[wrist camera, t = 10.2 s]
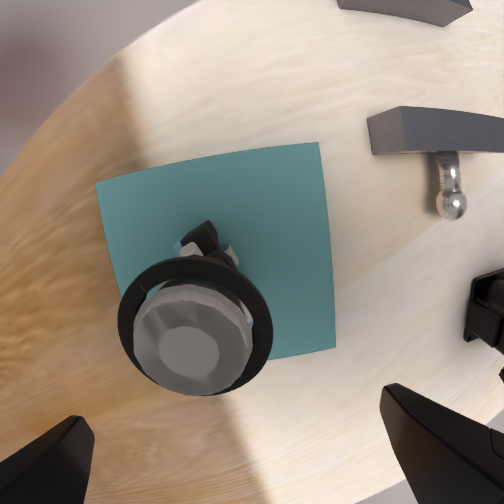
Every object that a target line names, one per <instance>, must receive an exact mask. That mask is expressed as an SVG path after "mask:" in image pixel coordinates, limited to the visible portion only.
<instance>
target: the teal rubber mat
mask: <svg viewBox="0 0 504 504" xmlns="http://www.w3.org/2000/svg"><path fill="white" fill-rule="evenodd" d="M95 185H96V191H97V197H98V203H99V208H100V213H101V218H102V223H103V228H104V233H105V237H106V241H107V246H108V250H109V254H110V258H111V262H112V266H113V270H114V274H115V277H116V281H117V284H118V288H119V291H120V295H121V298H122V297H123V295H124V293H125V291H126V290H127V288H128V287H129V285H130V284H131V283H132V282H133V281H134V280H135V279H136V277H137V276H138V275H139V274H141V273H142V272H143V271H144V270H146V269H147V268H149V267H150V266H152V265H154V264H156V263H158V262H161V261H163V260H166V259H170V258H175V257H178V256H177V255H176V253H175V252H174V250H173V245H174V244H175V243H176V241H177V240H178V239H179V238H180V237H182V236H184V235H185V234H187V233H188V232H190V231H191V230H193V229H195V228H196V227H198V226H199V225H201V224H203V223H204V222H206V221H208V220H209V221H210V222H211V223H212V225H213V226H214V228H215V229H216V231H217V234H218V243H219V246H220V248H221V250H222V251H226V250H227V249H228V244H230V245H231V247H232V248H233V250H234V252H235V253H236V255H237V257H238V259H239V265H238V266H237V267H236V268H237V271H239V272H240V273H242V274H243V275H244V276H246V277H247V278H248V279H249V280H250V281H251V282H252V283H253V284H254V285H255V286H256V287H257V289H258V290H259V291H260V293H261V294H262V296H263V298H264V299H265V301H266V303H267V306H268V308H269V311H270V314H271V318H272V324H273V334H274V335H273V344H272V349H271V352H270V355H269V357H268V359H267V360H273V359H279V358H285V357H290V356H296V355H301V354H306V353H311V352H316V351H321V350H326V349H330V348H335V347H336V335H335V307H334V287H333V271H332V257H331V245H330V234H329V223H328V214H327V204H326V196H325V187H324V179H323V172H322V164H321V157H320V150H319V144H318V142H314V143H304V144H294V145H285V146H276V147H268V148H260V149H253V150H246V151H239V152H233V153H227V154H221V155H215V156H209V157H203V158H198V159H193V160H188V161H183V162H178V163H173V164H168V165H163V166H159V167H154V168H150V169H146V170H142V171H137V172H133V173H129V174H125V175H121V176H118V177H114V178H110V179H106V180H103V181H99V182H96V183H95ZM163 283H164V282H163ZM163 283H161V284H159V285H157V286H155V287H154V288H152V289H151V290H150V291H149V292H148V294H147V297H146V300H147V299H148V298H150V297H151V296H153V295H154V294H155V293H157V292H158V290H159V288H160V287H161V285H162V284H163ZM247 317H248V316H247ZM247 317H246V318H247ZM249 324H250V327H251V329H252V325H253V321H251V322H249Z"/></svg>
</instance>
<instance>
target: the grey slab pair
mask: <svg viewBox="0 0 504 504" xmlns="http://www.w3.org/2000/svg"><path fill="white" fill-rule="evenodd" d="M337 2H338V5H339V8H340V9H350V10H359V11H368V12H375V13H382V14H388V15H393V16H399V17H404V18H409V19H413V20H417V21H422V22H426V23H430V24H434V25H437V26H441V27H444V26H446V25H448V24H449V23H451V22H453V21H455V20H456V19H458V18H460V17H462V16H463V15H465V14H467V13H469V12H471V11H472V10H473V8H472V6H471V4H470V2H469V0H337ZM367 122H368V128H369V134H370V141H371V148H372V155H378V154H400V153H437V157H438V166H439V177H440V191H439V192H438V194H437V197H436V207H437V210H438V212H439V213H440V215H441V216H442V217H444V218H445V219H447V220H458V219H460V218H461V217H462V216H463V215H464V214H465V212H466V209H467V199H466V196H465V194H464V192H463V191H462V190H461V175H460V163H459V154H458V153H504V118H500V117H494V116H489V115H483V114H476V113H470V112H462V111H454V110H446V109H436V108H424V107H409V106H399V107H396V108H393V109H391V110H388V111H385V112H383V113H380V114H378V115H375V116H372V117H370V118H367Z"/></svg>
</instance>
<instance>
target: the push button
mask: <svg viewBox="0 0 504 504" xmlns="http://www.w3.org/2000/svg"><path fill="white" fill-rule="evenodd" d="M173 250H174V252H175V253H176V255H177V256H178V257H175V258H170V259H166V260H163V261H161V262H158V263H156V264H154V265H152V266H150V267H149V268H147V269H146V270H144V271H143V272H142V273H141V274H139V275H138V276H137V277H136V279H135V280H134V281H133V282H132V283H131V284H130V285H129V287H128V288H127V290H126V291H125V293H124V295H123V297H122V300H121V302H120V306H119V310H118V332H119V336H120V340H121V343H122V346H123V348H124V350H125V352H126V354H127V355H128V357H129V358H130V360H131V361H132V363H133V364H134V365H135V366H136V367H137V368H138V369H139V370H140V371H141V372H142V373H143V374H144V375H145V376H146V377H148V378H149V379H150V380H152V381H153V382H155V383H156V384H158V385H160V386H162V387H163V388H165V389H167V390H170V391H174V392H177V393H180V394H184V395H187V396H189V395H192V396H212V395H218V394H223V393H226V392H230V391H232V390H235V389H237V388H239V387H241V386H243V385H244V384H246V383H247V382H249V381H250V380H251V379H252V378H254V377H255V376H256V375H257V374H258V373H259V371H260V370H261V369H262V368H263V366H264V365H265V363H266V361H267V359H268V357H269V355H270V352H271V349H272V344H273V335H274V334H273V324H272V318H271V314H270V311H269V308H268V306H267V303H266V301H265V299H264V298H263V296H262V294H261V293H260V291H259V290H258V289H257V287H256V286H255V285H254V284H253V283H252V282H251V281H250V280H249V279H248V278H247V277H246V276H244V275H243V274H242V273H240V272H239V271H237V268H236V267H237V266H238V265H239V259H238V257H237V255H236V253H235V252H234V250H233V248H232V247H231V245H230V244H228V249H227V250H226V251H222V250H221V248H220V246H219V243H218V234H217V231H216V229H215V228H214V226H213V225H212V223H211V222H210V221H209V220H208V221H206V222H204V223H203V224H201V225H199V226H198V227H196V228H195V229H193V230H191V231H190V232H188V233H187V234H185V235H184V236H182V237H180V238H179V239H178V240H177V241H176V243H175V244H174V245H173ZM163 282H164V283H163ZM161 283H163V284H162V285H161V287H160V288H159V290H158V292H157V293H155V294H154V295H153V296H151V297H150V298H148V299H147V300H146V297H147V294H148V292H149V291H150V290H151V289H152V288H154V287H155V286H157V285H159V284H161ZM247 316H248V317H247ZM246 317H247V318H246ZM251 321H253V325H252V329H251V327H250V324H249V322H251Z"/></svg>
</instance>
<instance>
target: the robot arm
mask: <svg viewBox="0 0 504 504" xmlns="http://www.w3.org/2000/svg"><path fill="white" fill-rule="evenodd" d="M477 338H480V339H482V340H483V341H484V342H485V343H487V344H488V345H489V346H490V347H492V348H493V347H494V348H495V349H497V350H498V351H499V352H500V353H502V354H503V355H504V269H502V270H499V271H496V272H493V273H490V274H487V275H484V276H481V277H478V278H475V279H474V281H473V283H472V290H471V298H470V305H469V312H468V318H467V323H466V329H465V334H464V340H465V341H466V342H470V341H472V340H474V339H477ZM499 376H500V378H501V379H502V381H503V383H504V367H503V369H501V371H500V373H499ZM380 413H381V416H382V419H383V422H384V424H385V427H386V430H387V433H388V436H389V439H390V442H391V445H392V448H393V451H394V453H395V456H396V458H397V460H398V462H399V464H400V466H401V468H402V470H403V472H404V474H405V477H406V479H407V481H408V483H409V485H410V487H411V489H412V491H413V493H414V495H415V498H416V500H417V502H418V504H504V434H503V433H501V432H499V431H496V430H494V429H492V428H490V429H489V427H487V426H485V425H483V424H481V423H478V422H476V421H474V420H472V419H470V418H468V417H465V416H463V415H461V414H459V413H457V412H455V411H453V410H451V409H449V408H447V407H444V406H442V405H440V404H438V403H436V402H434V401H432V400H430V399H428V398H426V397H424V396H422V395H420V394H418V393H416V392H414V391H412V390H410V389H408V388H406V387H404V386H402V385H400V384H398V383H393V384H389V385H386V386H384V387H383V389H382V394H381V400H380ZM94 442H95V437H94V433H93V431H92V430H91V428H90V427H89V425H88V424H87V422H86V420H85V419H84V418H83V417H82V416H76V415H71V416H69V417H68V418H66V419H65V420H63V421H62V422H60V423H59V424H57V425H56V426H54V427H53V428H51V429H50V430H49V431H47V432H46V433H44V434H43V435H41V436H40V437H38V438H37V439H35V440H34V441H32V442H31V443H29V444H28V445H26V446H25V447H23V448H22V449H20V450H19V451H17V452H16V453H14V454H12V455H11V456H9V457H8V458H6V459H5V460H3V461H2V462H0V504H84V499H85V494H86V490H87V486H88V481H89V476H90V470H91V462H92V455H93V448H94Z"/></svg>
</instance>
